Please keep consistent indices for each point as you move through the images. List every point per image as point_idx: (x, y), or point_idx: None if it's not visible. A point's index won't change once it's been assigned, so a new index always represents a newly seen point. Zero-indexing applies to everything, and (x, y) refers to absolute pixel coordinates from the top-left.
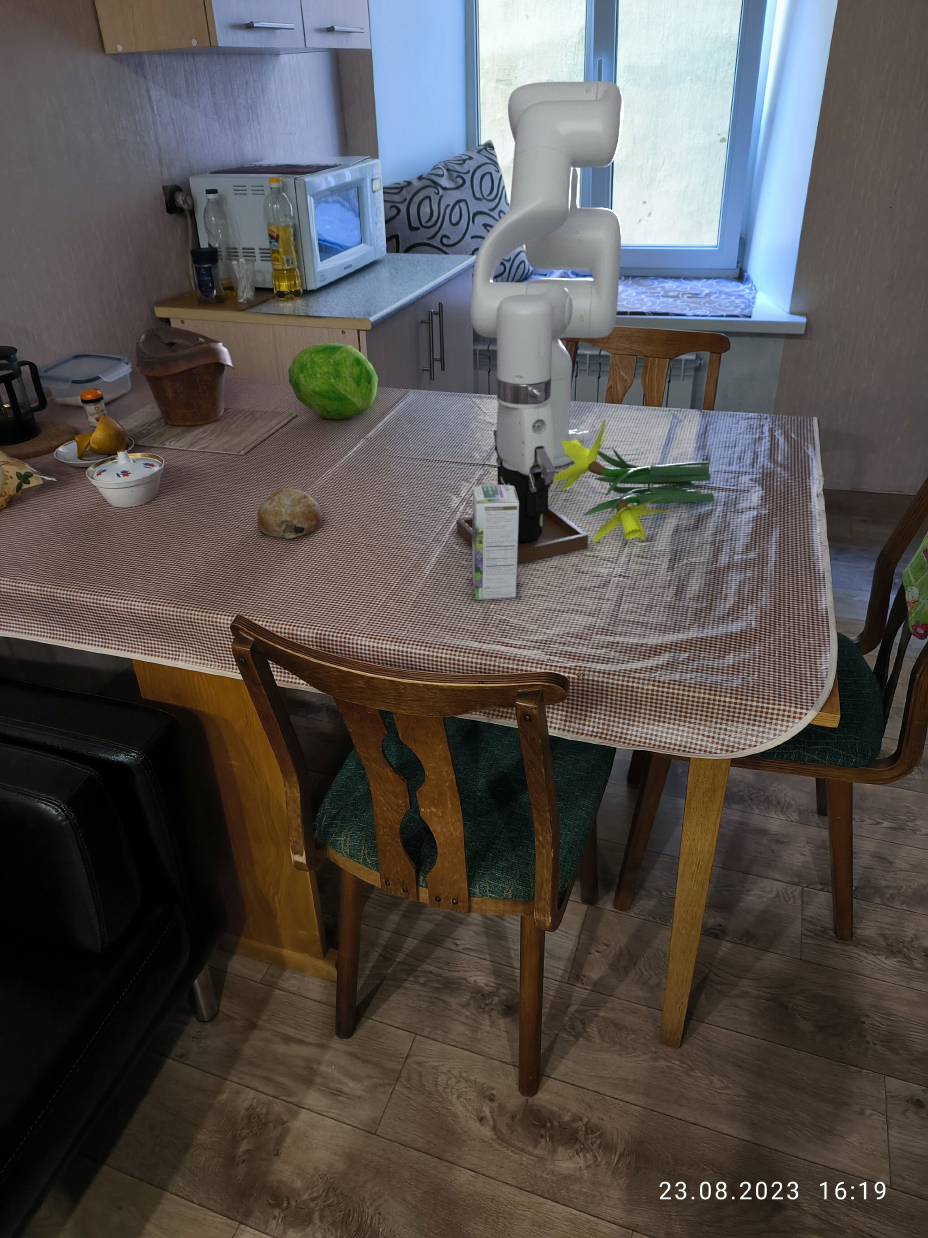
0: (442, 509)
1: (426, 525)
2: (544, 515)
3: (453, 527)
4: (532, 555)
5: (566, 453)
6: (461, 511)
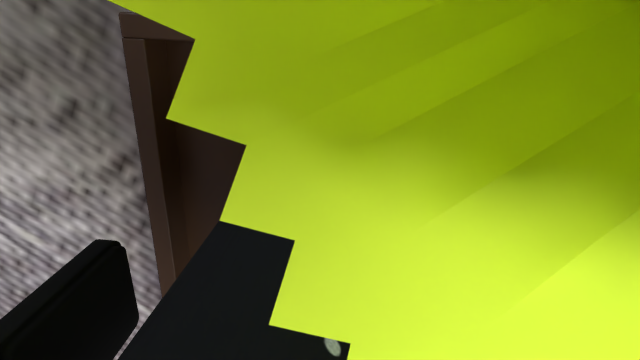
0: (28, 282)
1: (119, 353)
2: (192, 45)
3: (152, 311)
4: None
5: (410, 328)
6: (53, 248)
